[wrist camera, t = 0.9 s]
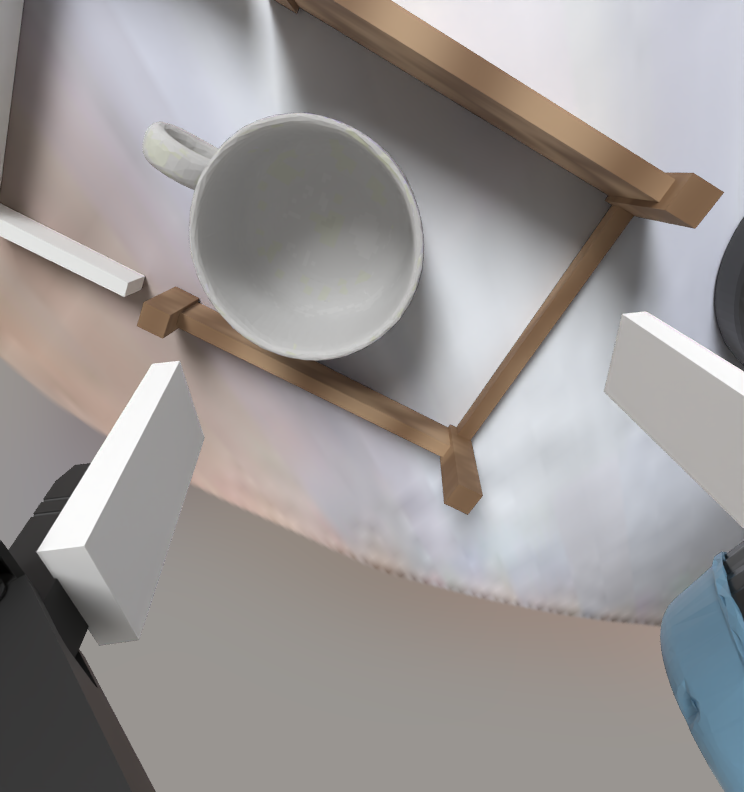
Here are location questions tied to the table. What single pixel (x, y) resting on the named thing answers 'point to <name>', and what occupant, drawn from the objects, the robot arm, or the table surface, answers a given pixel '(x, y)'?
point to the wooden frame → (526, 122)
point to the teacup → (298, 231)
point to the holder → (3, 23)
